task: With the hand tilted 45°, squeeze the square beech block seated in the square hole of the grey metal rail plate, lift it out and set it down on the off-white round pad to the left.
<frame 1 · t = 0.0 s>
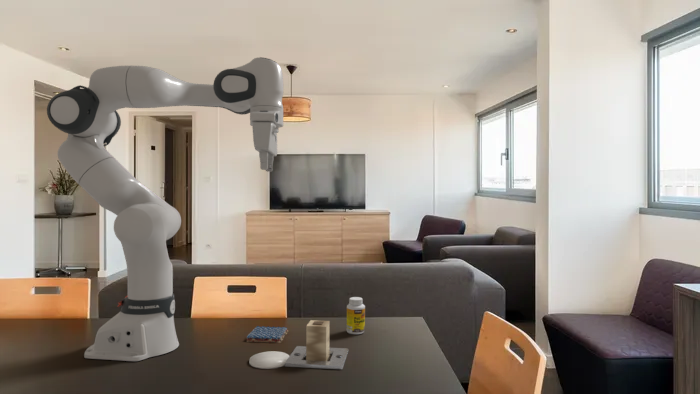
hand: (266, 170, 120), 48 cm above the table, tool pointing down, fingers open, 8 cm apart
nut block: (318, 358, 112), resting in rail plate
woven mat: (267, 338, 129), on the table
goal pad: (269, 360, 110), on the table
supplement bottle: (355, 332, 133), on the table
rail plate: (318, 358, 112), on the table
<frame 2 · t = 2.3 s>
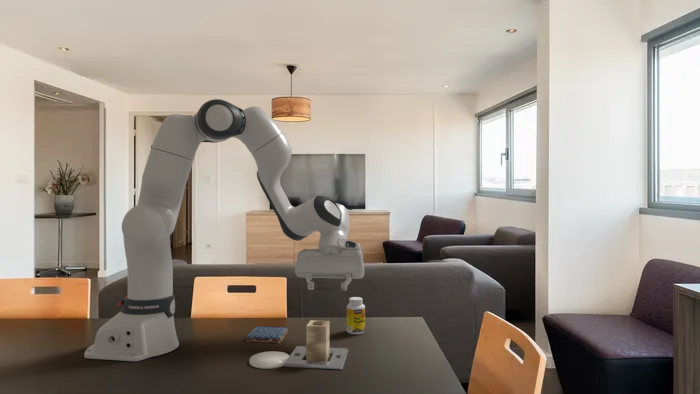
hand: (326, 289, 124), 15 cm above the table, tool tilted 45°, fingers open, 8 cm apart
nothing on the table moved.
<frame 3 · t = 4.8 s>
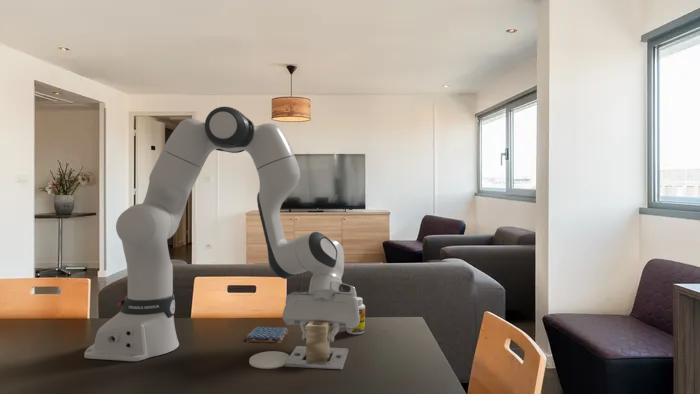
hand: (317, 340, 111), 5 cm above the table, tool tilted 45°, fingers closed on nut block, 5 cm apart
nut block: (318, 358, 112), resting in rail plate, touching gripper
everything else where it was.
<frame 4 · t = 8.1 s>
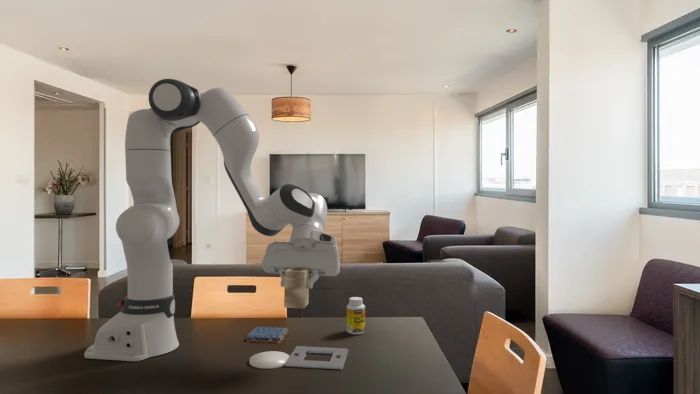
hand: (296, 286, 110), 19 cm above the table, tool tilted 45°, fingers closed on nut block, 5 cm apart
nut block: (296, 305, 111), point 14 cm above the table, touching gripper
everything else where it was.
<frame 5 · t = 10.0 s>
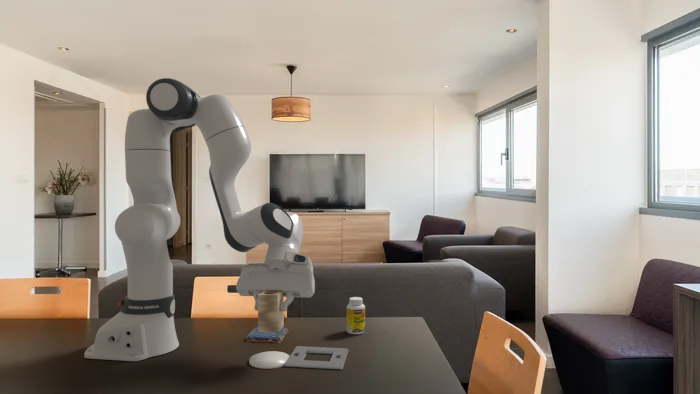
hand: (270, 309, 109), 13 cm above the table, tool tilted 45°, fingers closed on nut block, 5 cm apart
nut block: (271, 328, 110), point 8 cm above the table, touching gripper
everything else where it was.
when the fingers open (6 cm above the table, at t = 11.6 s): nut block stays where it is, resting on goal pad.
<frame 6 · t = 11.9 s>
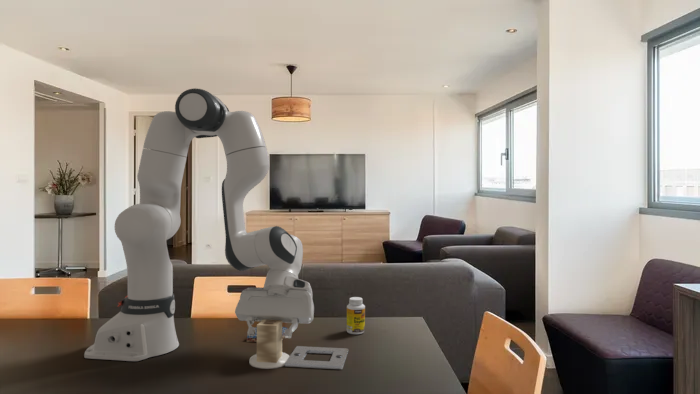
hand: (269, 336, 109), 6 cm above the table, tool tilted 45°, fingers open, 8 cm apart
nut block: (269, 358, 110), point 1 cm above the table, touching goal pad
everything else where it was.
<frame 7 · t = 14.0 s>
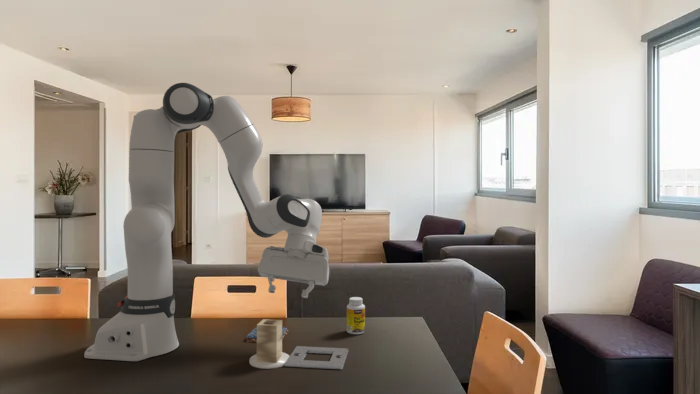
hand: (287, 294, 122), 14 cm above the table, tool tilted 35°, fingers open, 8 cm apart
nothing on the table moved.
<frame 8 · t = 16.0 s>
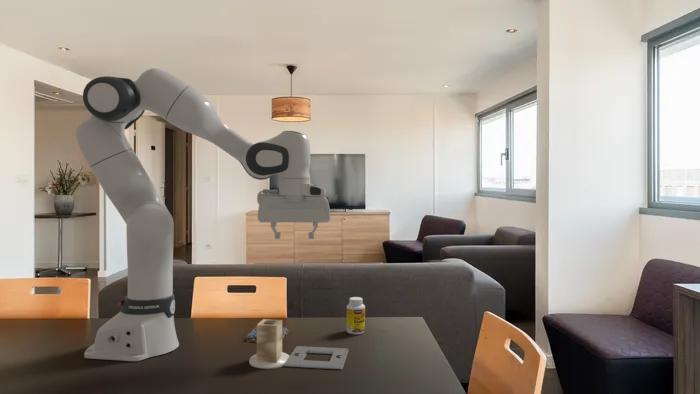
hand: (294, 238, 124), 29 cm above the table, tool pointing down, fingers open, 8 cm apart
nothing on the table moved.
at the end: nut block 0.1 cm from the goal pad (horizontally); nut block tilted 0°; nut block touching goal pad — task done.
